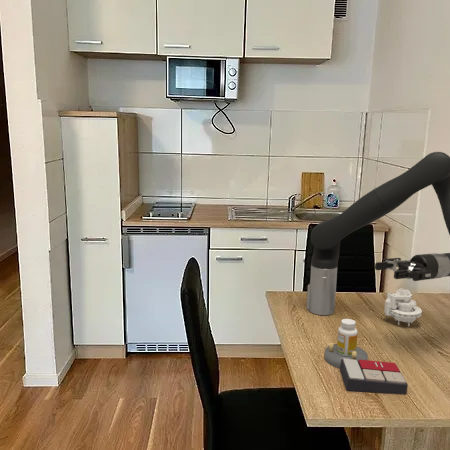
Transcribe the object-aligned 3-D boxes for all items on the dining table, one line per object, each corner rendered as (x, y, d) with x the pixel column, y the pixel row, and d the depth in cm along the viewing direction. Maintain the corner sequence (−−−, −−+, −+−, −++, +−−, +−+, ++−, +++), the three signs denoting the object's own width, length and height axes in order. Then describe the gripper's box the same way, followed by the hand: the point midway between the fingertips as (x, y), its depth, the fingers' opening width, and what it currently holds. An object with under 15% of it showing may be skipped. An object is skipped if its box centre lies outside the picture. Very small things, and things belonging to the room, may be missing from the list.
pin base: (316, 358, 136) (317, 344, 135) (339, 346, 144) (340, 332, 144) (353, 374, 128) (354, 359, 127) (375, 360, 136) (376, 345, 135)
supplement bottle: (356, 350, 138) (358, 319, 136) (355, 358, 133) (357, 326, 131) (337, 347, 139) (339, 316, 137) (335, 355, 134) (338, 323, 132)
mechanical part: (415, 332, 155) (418, 298, 153) (379, 323, 162) (382, 290, 160) (424, 321, 164) (428, 289, 161) (390, 313, 171) (392, 282, 169)
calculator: (408, 382, 118) (348, 376, 119) (406, 398, 119) (346, 392, 120) (396, 361, 129) (341, 356, 130) (394, 375, 130) (339, 370, 131)
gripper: (414, 248, 146) (370, 251, 140) (450, 260, 133) (403, 265, 127) (412, 271, 147) (368, 275, 142) (447, 286, 134) (400, 291, 129)
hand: (385, 270), depth 135 cm, fingers open, 8 cm apart
